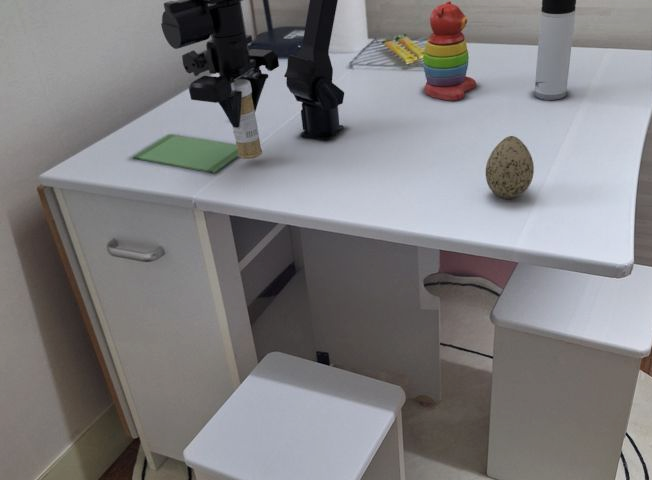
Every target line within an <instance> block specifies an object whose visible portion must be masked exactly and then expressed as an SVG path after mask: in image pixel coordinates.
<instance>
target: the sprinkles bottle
mask: <svg viewBox="0 0 652 480" xmlns="http://www.w3.org/2000/svg"><path fill="white" fill-rule="evenodd" d="M235 90H236V91H242V98H241V114H240V125H239V127H238V128H236V127H233V126H232V130H233V136H234V141H235V143H236V144H235V145H237V149H238V158H240V159H243V160H253V159H256V158H258V157H260V156H261V155H262V154H263V148H262V146H261V140H260V134H259V127H258V121H257V117H256V111H255V110H254V105H253V100H252V88H251V84H250V81H248V80H246V79H238V80H236V81H235Z"/></svg>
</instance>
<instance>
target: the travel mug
mask: <svg viewBox="0 0 652 480" xmlns="http://www.w3.org/2000/svg"><path fill="white" fill-rule="evenodd" d="M576 5H577V0H541V9H540V18H539V31H538V43H537V53H536V54H537V55H536V57H537V58H536V66H535V68H536V69H535V77H534V78H535V79H534V91H533V95H534V96H535V98H537V99H540V100H544V101H556V100H561V99H563V98H565V97H566V96H567V90H568V81H569V74H570V73H569V72H570V64H571V63H570V62H571V56H572V55H571V53H572V46H573V45H572V44H573V38H574V37H573V35H574V29H575V28H574V27H575V20H576V19H575V18H576Z"/></svg>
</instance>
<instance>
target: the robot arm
mask: <svg viewBox="0 0 652 480" xmlns="http://www.w3.org/2000/svg"><path fill="white" fill-rule="evenodd" d="M243 1H244V0H169V1H166V2H165V1H164V3H163V8H164V11H163V13H162V15H161V23H160V26H161V30H162V33H163V36H164V38H165V40H166V41H167V43H168V44H169V46H170V47H171V48H173V49H175V50H178V49H181V48H184V47H188V46H192V45H194V44H198V43H201V42H204V41H207V40H208V41H207V42H206V45H205V47H206V49H204V50H202V51H200V52H198V53H197V51H195V50H194V49H193V50H191V51H189V52H186V53H184V54H182V55H181V58H182V59H181V60H182V65H183V69H184V70H185V72H186V73H188V74H193V75H194V77H198V76H200V74H202V73H205V72H207V71H208V72H209V74H213V75H215V74H218V75H219V76H211V75H203V76H200V77H199V78H197V79H195V80H193V81H192V82H190V84H189V86H188V87H187V88H188V92H189V96H190V100H191V101H198V102H207V103H215V104H218V105H219V106H220V107H221V109H222V110H223V112H224V113H225V115H226V118H227V119H228V120H229V123H230V124H231V126H232V128H233V127H236V128H238V127H239V125H240V114H241V98H242V91H236V90H235V81H236V80H238V79H246V80H248V81H250V84H251V88H252V100H253V105H254V110H255V112H257V107H258V105H259V101H260V98H261V94H262V92H263V90H264V87H265V84H266V81H267V79H269V74H268V73H262V72H263V71H262V69H261V68H260V67H261V66H264V67H265V69H266V70H267V72H272V71H274V70H276V69H277V68H279V67H280V63H279V55H277V53H276V52H275V51H274V50H270V49H259V48H257V49H256V48H252V49H250V50H249V44H250V43H253V35H252V34H247V32H246V25H245V18H244V12H243V6H242V2H243ZM338 2H339V0H309V3H308V9H307V15H306V20H305V27H304V34H303V38H302V44H301V47H300V49H299V50H298V52H297V53H296V54H295V55H292V54H288V58H287V64H286V65H287V66H286V71H285V73H284V75H283V77H284V78H286V81H285V83H286V87H287V88H288V91H289V92H290V93H291V94H292V95H293V96H294V98H295V101H296V102H298V103H299V102H300V103H301V109H300V117H301V127H302V131H303V132H301V133H300V137H302V138H308V139H315V140H322V141H331V139H333V138H334V137H335V136H337V134H339V133H340V132H341V131H342V130H344V129H345V126H344V125H342V124H340V115H339V106H340V105H343V103H344V98H345V92H344V90H342V88H339V86H337V85H336V84H335V83H334V82H333V74H334V69H333V65H332V61H331V57H330V53H329V52H330V51H329V50H330V46H331V45H330V44H331V39H332V34H333V29H334V23H335V18H336V12H337V7H338ZM210 37H211V39H210ZM209 39H210V40H209Z"/></svg>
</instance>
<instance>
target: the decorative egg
mask: <svg viewBox="0 0 652 480" xmlns="http://www.w3.org/2000/svg"><path fill="white" fill-rule="evenodd" d="M534 170H535V167H534V160H533V157H532V154H531V152H530V150H529V149H528V147H527V146H526V144H525V143H524V142H523V141H522V140H521V139H519V138H518V137H517V136H514V135H509V136H506V137H504V138H503V139H502V140H501V141H499V143H497V145H496V146H495V147H494V148H493V150H492V151H491V153H490V154H489V157H488V159H487V162H486V166H485V180H486V184H487V185H488V188H489V189H490V191H491V192H492V193H493V194H494V195H495V196H497V197H499V198H501V199H508V200H510V199H514V198H518V197H519V196H521V195H522V194H524V193H525V192H526V191H527V190H528V188H529V187H530V186H531V184H532V182H533V178H534V173H535V171H534Z"/></svg>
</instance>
